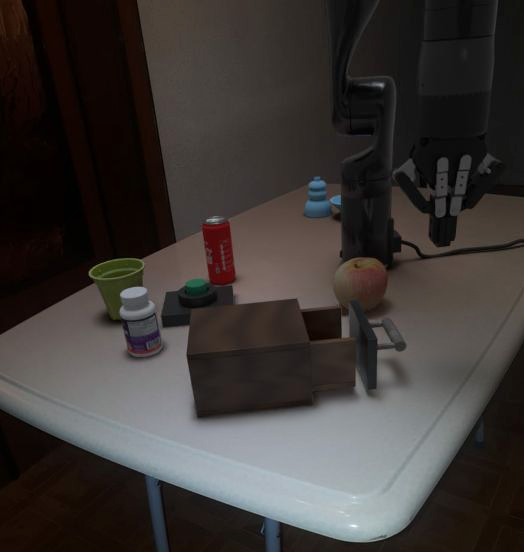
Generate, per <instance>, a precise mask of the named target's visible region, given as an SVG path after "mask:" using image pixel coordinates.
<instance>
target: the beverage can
mask: <svg viewBox="0 0 524 552" xmlns="http://www.w3.org/2000/svg"><path fill="white" fill-rule="evenodd" d="M231 230H232V229H231V223H230V221H229V218H228V217H227V216H222V215H218V216H209V217H207V218H204V219H203V220H202V224H201V231H202V238H203V246H204V252H205V253H204V254H205V259H206V260H205V261H206V267H207V274H208V278H209V280H210V282H211V284H213V285H215V286H225V285H228V284H232V282H234V281H235V277H236V266H235V259H234V249H233V240H232V232H231Z"/></svg>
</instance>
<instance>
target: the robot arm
mask: <svg viewBox="0 0 524 552" xmlns="http://www.w3.org/2000/svg"><path fill="white" fill-rule="evenodd" d="M380 1H381V0H323V9H324V19H325V27H326V28H325V29H326V37H327V38H326V39H327V52H328V76H329V77H328V83H329V110H330V122H331V126H332V130H333V131H334V133H335V134H336V135H337V136H339V137H346V138H347V137H372V136H373V137H374V141H373V143H372V144H370V145H369V146H368V147H367V148H365V149H364V150H362V151H360V152H357V153H355V154H352V155H349V156H347V157H345V158H343V160H342V161H341V162H340V167H339V172H340V173H339V176H340V182H339V183H340V195H341V211H340V243H341V245H340V246H341V247H340V248H341V249H340V251H339V259H340V266H341V265H342V264H344V263H345V262H347V261H349V260H351V259H354V258H374V259H377V260H378V261H380V262H381V263H382V264H383V265H384V267H385V268H386V270H389V269H393V268H394V254H397V253H401V252H402V245H404V246H407V247H410V248H412V249H413V250H414V251H415V252H416V255H417V256H418V257H419V258H421V259H435V258H442V257H448V256H452V255H455V254H456V255H457V254H462V253H469V252H482V251H493V250H500V249H501V250H502V249H507V248H511V247H513V246H515V245H518V244H524V238H518V239H515V240H512V241H510V242H507V243H502V244H495V245H483V246H473V247H461V248H456V249H452V250H448V251H445V252H441V253H438V254H426V253H423V252H421V249H420V247H419V246H418V245H417V244H414V243H413V242H412V241H411V242H410V241H408V240H404V239H403V237H402V235H401V234H400V233H399V232H398V231H397V230H396V229H395V218H393V217H392V197H393V181H394V182H395V183H396V185H397V186H398V187H399V189H400V190H401V191H402V193H404V195H405V196H406V197H407V199H408V200H409V201H410V202H411V204H412V205H413V206H414V207H415V209H417V210H418V211H419V212H420V213H421V214H426V215H429V217H428V233H427V234H428V235H427V236H428V239H429V241H430V242H431V243H432V244H433V245H434V246H435V247H436V248H446V247H447V248H448V247H450V246H451V244H452V242H454V241H455V240H456V237H457V228H458V227H457V225H458V216H459V214H460V213H461V212H463V211H465V210H473V209H474V208H476V206H477V205H478V203H479V202H480V201H481V200H482V198H483V197H484V196H485V195H486V194H487V192H488V191H489V190H490V189H491V187H492V186H493V185H494V184H495V183H496V181H497V180H498V179H499V178H500V176H501V175H503V173H504V172H505V170H506V168H507V167H506V163H504V162H503V161H501V160H499V159H497V158H495V157H494V156H492V155H491V154H490V153H489V150H490V149H489V144H488V142H487V138H486V135H487V131H488V123H489V115H490V106H491V96H492V87H493V76H494V69H495V33H496V26H497V24H496V23H497V15H498V5H499V4H498V3H499V0H423V4H422V6H423V7H422V11H423V12H422V25H421V42H420V43H421V44H420V53H419V57H418V58H419V59H418V62H417V63H418V64H417V76H416V80H415V89H416V94H415V95H416V97H415V100H416V101H415V116H414V120H415V121H414V141H413V145H412V147H411V149H410V151H409V155H408V156H409V158H408V159H407V160H406V161H405V162H404V163H403V164H401V166H399V167H394V168H393V163H394V162H393V161H394V160H393V159H394V134H395V123H396V112H397V86H396V83H395V80H394V78H393V77H391V76H390V75H377V76H376V75H374V76H361V77H351V73H350V70H351V69H350V68H351V64H352V63H351V62H352V59H353V56H354V54H355V51H356V49H357V46H358V45H359V43H360V39H361V37H362V36H363V34H364V31H365V29H366V28H367V26H368V24H369V22H370V20H371V19H372V17H373V15H374V13H375V12H376V9H377V7H378V5H379V3H380ZM415 170H416V172H417V173H418V174H419V175H420V177H421V178H422V179H423V181H424V182H425V183H426V192H427V195H428V200H427V199H426V198H425V197H424V195H423V194H422V192H420V190H419V189H418V188H417V186H416V185H415V184H414V182H415V181H416V178H417V177H416V174H415ZM476 170H477V173H476V174H475V176H474V177H473V178H472V179H471V177H472V176H473V174H474V173H475V172H476ZM469 179H471V181H470V182H469V183H468V181H469Z"/></svg>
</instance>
